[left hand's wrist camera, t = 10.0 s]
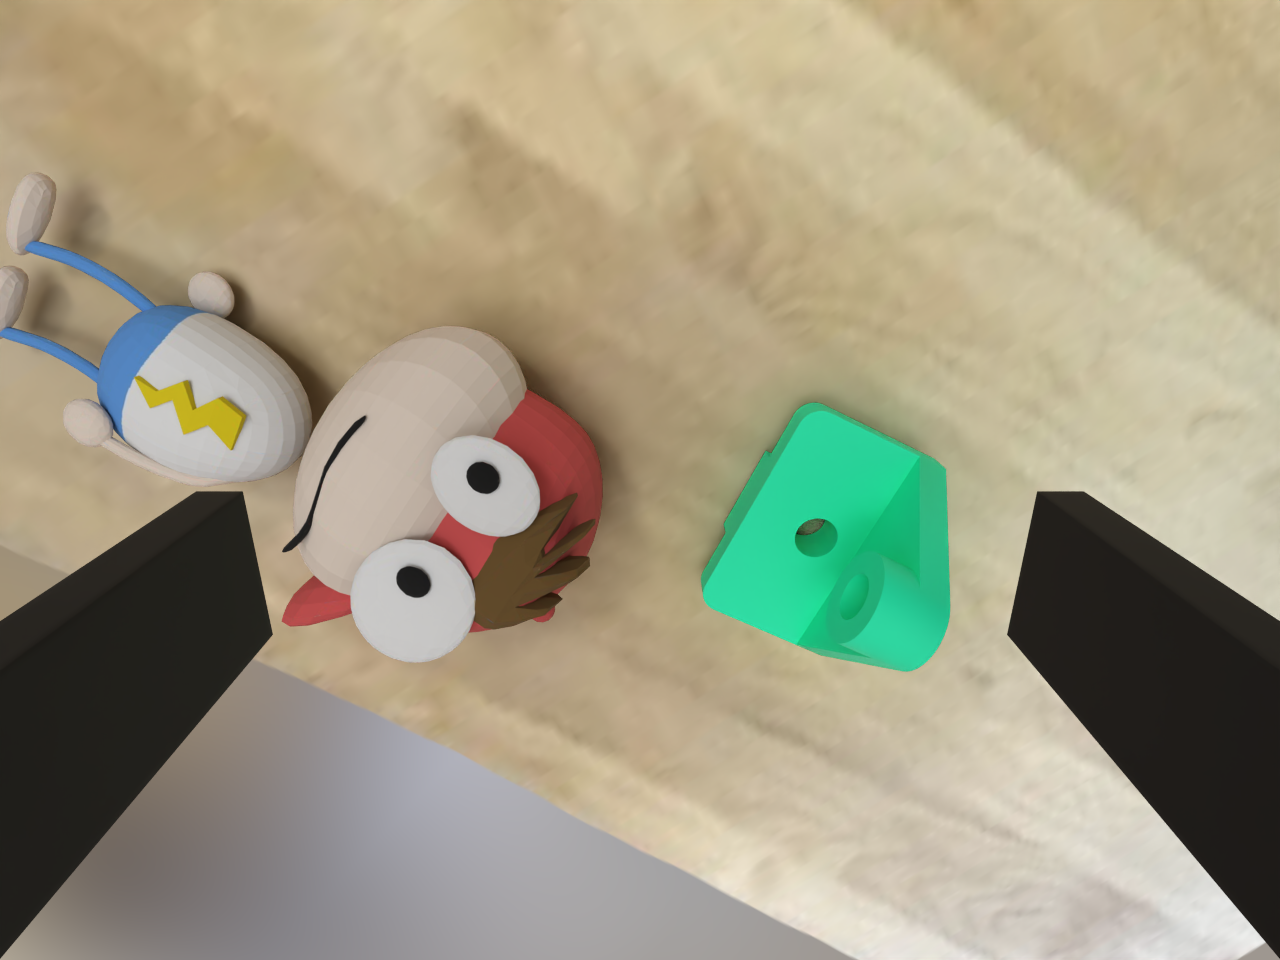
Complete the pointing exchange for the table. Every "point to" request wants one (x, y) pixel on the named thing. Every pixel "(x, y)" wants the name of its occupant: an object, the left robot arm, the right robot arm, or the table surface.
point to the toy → (347, 454)
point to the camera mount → (839, 545)
